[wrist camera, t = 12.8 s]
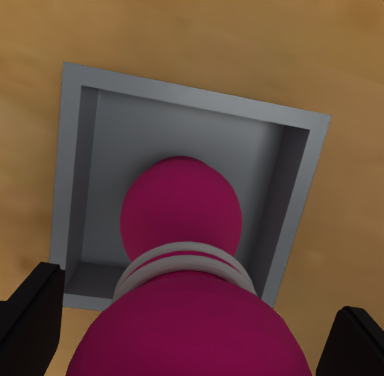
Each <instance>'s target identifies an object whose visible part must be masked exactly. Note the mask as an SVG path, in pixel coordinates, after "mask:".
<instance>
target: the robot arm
mask: <svg viewBox="0 0 384 376" xmlns="http://www.w3.org/2000/svg"><path fill="white" fill-rule="evenodd" d="M65 273H66V272H65V270H62V269H60V265H59V264H53V263H46V262H40V263H39V264H38V265H37V267H36V268H35V269H34V270H33V271H32V272H31V273H30V275H29V276H28V277H27V278H26V279H25V280H24V282H23V283H22V284H21V285H20V286H19V287H18V288H17V290H16V291H15V292H14V293H13V294H12V295H11V297H10V298H9V299H8V300H7V301H0V376H44V374H45V372H46V370H47V368H48V366H49V364H50V362H51V360H52V358H53V356H54V354H55V352H56V350H57V347H58V344H59V339H60V329H61V318H62V307H63V296H64V285H65ZM316 376H384V331H383V330H382V329H381V328H380V327H379V325H378V324H377V323H376V322H375V321H374V320H373V319H372V318H371V316H370V315H369V314H368V313H367V312H366V311H365V310H364V309H362V308H357V307H350V306H344V307H343V308H342V310H339V311H338V312H337V314H336V317H335V320H334V322H333V325H332V328H331V331H330V333H329V336H328V339H327V342H326V344H325V347H324V350H323V353H322V355H321V358H320V361H319V363H318V366H317V369H316Z"/></svg>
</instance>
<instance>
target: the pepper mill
mask: <svg viewBox="0 0 384 376" xmlns="http://www.w3.org/2000/svg"><path fill="white" fill-rule="evenodd" d="M241 232H242V211H241V208H240V204H239V201H238V198H237V195H236V193H235V191H234V189H233V188H232V186H231V185H230V183H229V182H228V181H227V180H226V179H225V178H224V177H223V176H222V175H221V174H220V173H219V172H217V171H216V170H215V169H213V168H211V167H209V166H208V165H207V164H205V163H204V162H202V161H200V160H198V159H196V158H193V157H188V156H173V157H168V158H166V159H163V160H160V161H159V162H157V163H155V164H154V165H153V166H151V167H150V168H149V169H148V170H146V171H145V172H143V173H142V174H141V175H140V176H139V177H138V178H137V179H136V180H135V181H134V182H133V184H132V185H131V186H130V188H129V189H128V191H127V193H126V195H125V198H124V201H123V204H122V209H121V214H120V233H121V237H122V242H123V246H124V248H125V251H126V254H127V255H128V257H129V259H130V260H131V262H132V263H131V264H130V265H129V266H128V267H127V269H126V270H125V271H124V273H123V274H122V276H121V278H120V279H119V281H118V283H117V286H116V288H115V291H114V297H113V300H112V302H111V304H110V306H109V307H108V308H107V309H105V310H104V311H103V312H102V313H101V314H100V315H99V316H98V317H97V318H96V320H95V321H94V322H93V323H92V324H91V325H90V327H89V328H88V330H87V332H86V333H85V335H84V337H83V338H82V340H81V342H80V343H79V345H78V347H77V349H76V351H75V353H74V355H73V357H72V359H71V361H70V363H69V366H68V369H67V372H66V376H312V374H311V371H310V369H309V366H308V363H307V361H306V358H305V356H304V353H303V352H302V350H301V348H300V346H299V345H298V343H297V341H296V339H295V338H294V336H293V334H292V333H291V331H290V330H289V328H288V326H287V325H286V323H285V322H284V320H283V319H282V318H281V317H280V316H279V315H278V314H277V313H276V312H275V311H274V310H273V309H272V308H271V307H270V306H269V305H268V304H266V303H265V302H264V301H263V300H261V299H260V298H259V297H258V296H257V293H256V291H255V290H254V286H253V283H252V280H251V279H250V277H249V275H248V273H247V272H246V270H245V269H244V268H243V266H242V265H241V264H240V263H239V262H238V261H237V260H236V259H235V258H234V255H235V253H236V251H237V248H238V245H239V242H240V237H241Z"/></svg>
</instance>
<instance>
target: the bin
mask: <svg viewBox="0 0 384 376" xmlns="http://www.w3.org/2000/svg"><path fill="white" fill-rule="evenodd" d="M331 117H332V115H327V114H322V113H317V112H312V111H307V110H302V109H297V108H292V107H287V106H282V105H277V104H272V103H267V102H262V101H257V100H252V99H247V98H242V97H237V96H232V95H227V94H222V93H217V92H213V91H208V90H203V89H198V88H193V87H188V86H183V85H178V84H173V83H168V82H163V81H158V80H153V79H148V78H143V77H138V76H133V75H128V74H123V73H118V72H113V71H108V70H103V69H98V68H94V67H89V66H84V65H79V64H74V63H69V62H64V61H63V74H62V88H61V102H60V117H59V131H58V145H57V159H56V173H55V187H54V201H53V216H52V230H51V244H50V258H49V263H53V264H59V265H60V269H62V270H65V272H66V273H65V285H64V296H63V307H71V308H79V309H88V310H96V311H104V310H105V309H107V308H108V307H109V306H110V304H111V302H112V300H113V297H114V291H115V288H116V286H117V283H118V281H119V279H120V278H121V276H122V274H123V273H124V271H125V270H126V269H127V267H128V266H129V265H130V264H131V263H132V262H131V260H130V259H129V257H128V255H127V254H126V251H125V248H124V246H123V242H122V237H121V233H120V214H121V209H122V204H123V201H124V198H125V195H126V193H127V191H128V189H129V188H130V186H131V185H132V184H133V182H134V181H135V180H136V179H137V178H138V177H139V176H140V175H141V174H142V173H143V172H145V171H146V170H148V169H149V168H150V167H151V166H153V165H154V164H155V163H157V162H159V161H160V160H163V159H166V158H168V157H173V156H188V157H193V158H196V159H198V160H200V161H202V162H204V163H205V164H207V165H208V166H209V167H211V168H213V169H215V170H216V171H217V172H219V173H220V174H221V175H222V176H223V177H224V178H225V179H226V180H227V181H228V182H229V183H230V185H231V186H232V188H233V189H234V191H235V193H236V195H237V198H238V201H239V204H240V208H241V211H242V232H241V237H240V242H239V245H238V248H237V251H236V253H235V255H234V258H235V259H236V260H237V261H238V262H239V263H240V264H241V265H242V266H243V268H244V269H245V270H246V272H247V273H248V275H249V277H250V279H251V280H252V283H253V286H254V290H255V291H256V293H257V296H258V297H259V298H260V299H261V300H263V301H264V302H265V303H266V304H268V305H269V306H270V307H271V308H272V309H273V307H274V304H275V300H276V297H277V294H278V291H279V287H280V284H281V281H282V277H283V274H284V271H285V268H286V264H287V261H288V258H289V254H290V251H291V248H292V245H293V241H294V238H295V235H296V231H297V228H298V225H299V222H300V218H301V215H302V212H303V208H304V205H305V202H306V199H307V195H308V192H309V189H310V186H311V182H312V179H313V176H314V172H315V169H316V166H317V163H318V159H319V156H320V153H321V149H322V146H323V143H324V140H325V136H326V133H327V130H328V126H329V123H330V120H331Z"/></svg>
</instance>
